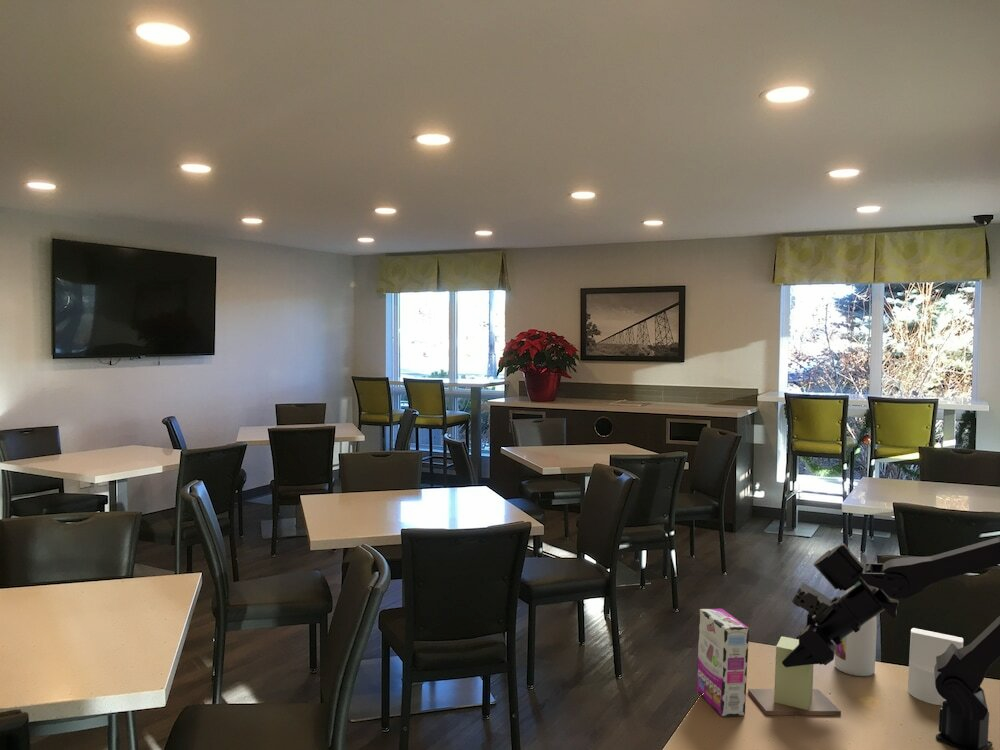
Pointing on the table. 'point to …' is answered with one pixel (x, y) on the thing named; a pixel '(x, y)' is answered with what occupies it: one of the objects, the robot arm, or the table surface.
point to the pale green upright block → (792, 678)
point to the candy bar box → (722, 661)
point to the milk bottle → (858, 649)
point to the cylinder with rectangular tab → (927, 663)
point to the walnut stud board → (769, 707)
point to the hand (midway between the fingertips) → (787, 656)
